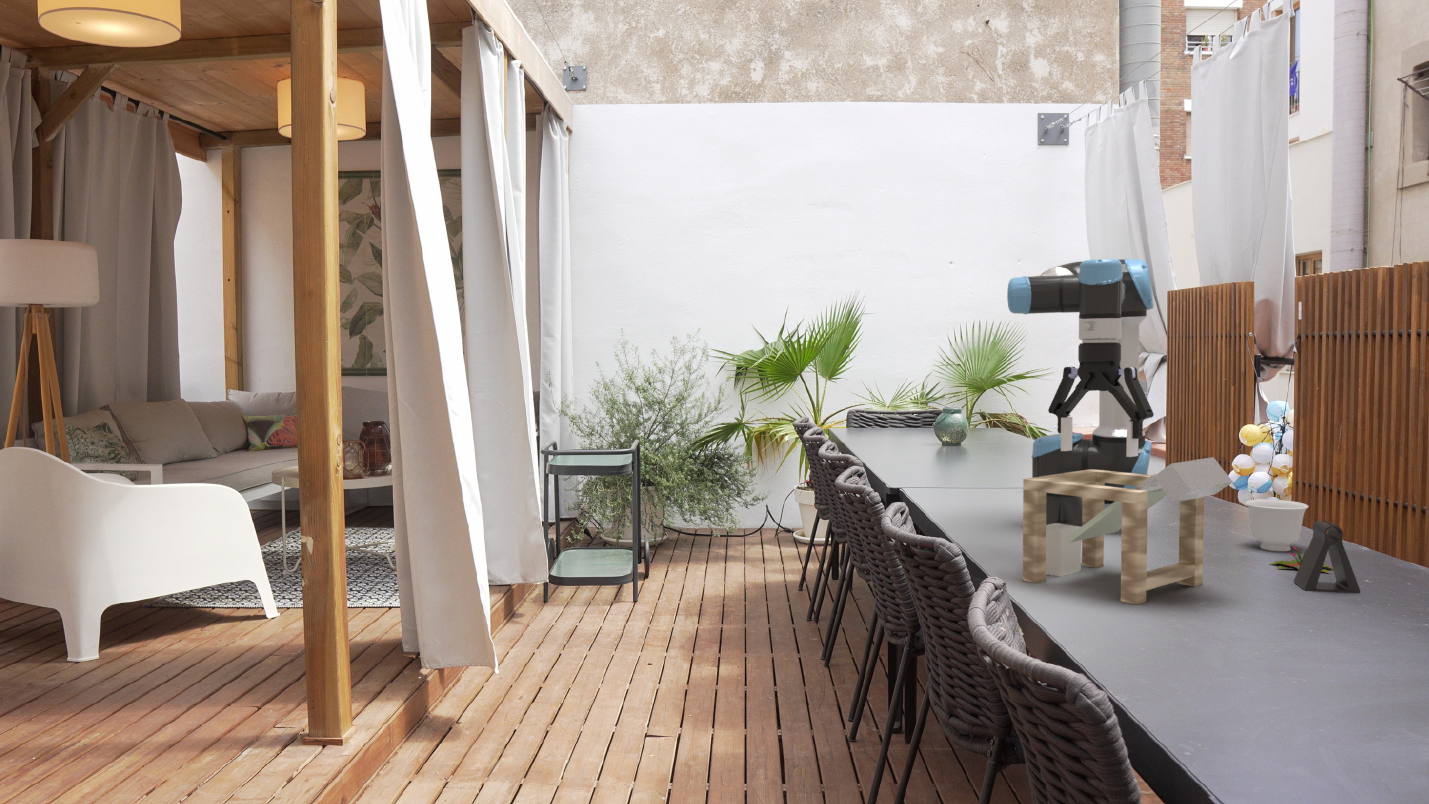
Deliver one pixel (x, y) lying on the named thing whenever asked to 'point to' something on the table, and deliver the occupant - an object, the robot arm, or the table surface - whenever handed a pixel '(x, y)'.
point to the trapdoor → (1162, 493)
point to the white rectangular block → (1062, 550)
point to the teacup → (1276, 522)
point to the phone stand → (1316, 557)
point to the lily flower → (1296, 562)
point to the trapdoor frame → (1133, 530)
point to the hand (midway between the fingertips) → (1098, 453)
